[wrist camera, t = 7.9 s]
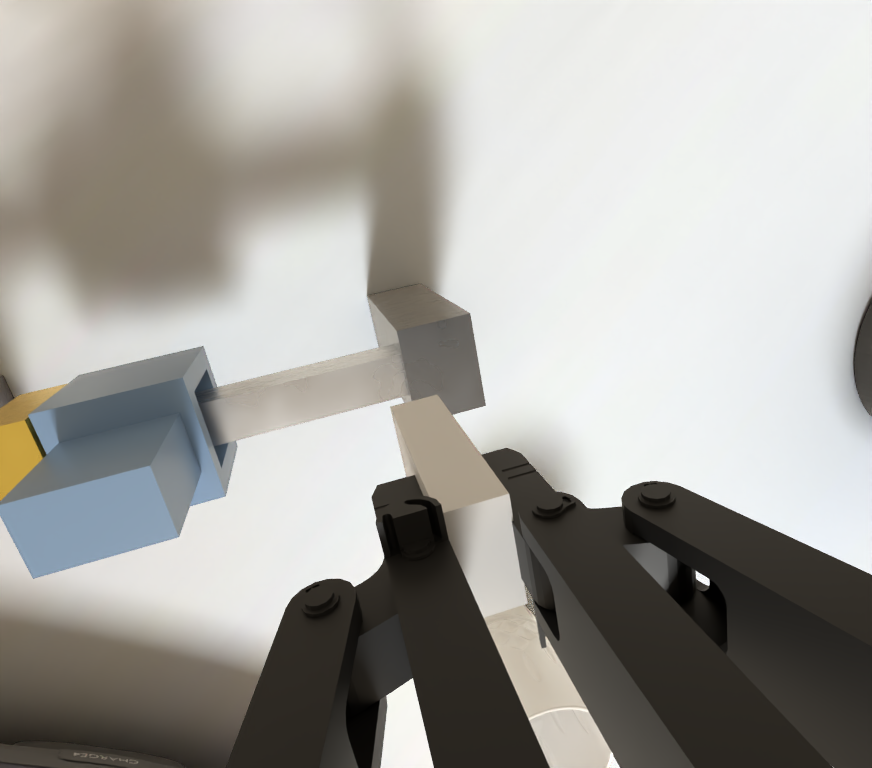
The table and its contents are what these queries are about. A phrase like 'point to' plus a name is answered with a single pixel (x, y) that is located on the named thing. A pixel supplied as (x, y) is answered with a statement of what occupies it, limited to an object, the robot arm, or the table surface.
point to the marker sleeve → (117, 463)
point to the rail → (310, 381)
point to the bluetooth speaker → (76, 756)
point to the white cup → (547, 693)
